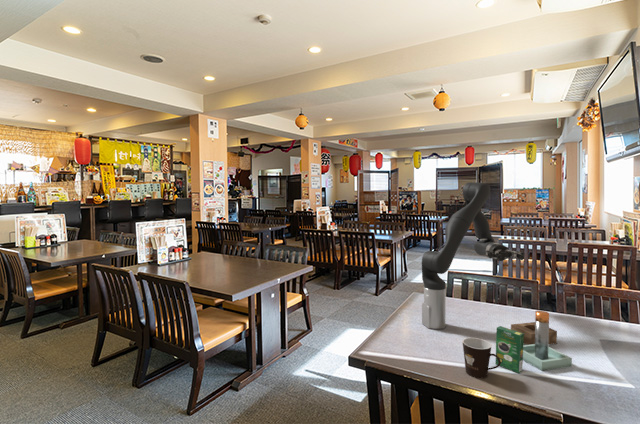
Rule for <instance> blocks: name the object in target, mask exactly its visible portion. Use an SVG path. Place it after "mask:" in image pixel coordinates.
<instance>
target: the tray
mask: <svg viewBox="0 0 640 424" xmlns="http://www.w3.org/2000/svg"><path fill="white" fill-rule="evenodd" d="M523 361H524V362H525V363H528V364H529V365H530V366H533V367H534V368H536V369H538V370H539V371H542V372H543V371H545V372H546V371H549V370H550V371H551V370H559V369H564V368H565V369H566V368H572V367H573V366H572V365H573V364H572V362H573V357H571V356H568V354H567V355H566V354H565V353H563V352H560V351H558V350H557V349H555V348H552V347H550V346H549V348H548V360H540V359H539V358H537V357H535V344H531V345H526V344H523Z"/></svg>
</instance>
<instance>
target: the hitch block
mask: <svg viewBox="0 0 640 424" xmlns="http://www.w3.org/2000/svg"><path fill="white" fill-rule="evenodd" d="M510 329H511V330H514V331H517V332H520V333H524V343H523V345H531V344H535V321H532V322H522V323H512V324H510ZM557 338H558V331H557V330H555V329H553V328H550V327H549V346H550V345H557V344H558V343H557V340H558V339H557Z"/></svg>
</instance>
